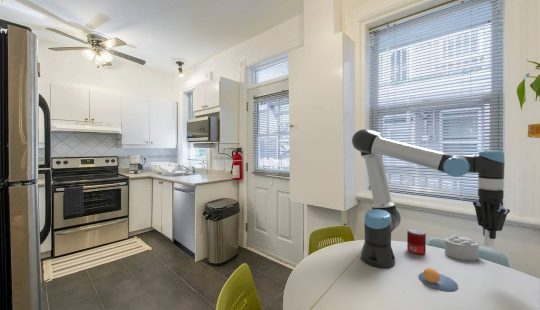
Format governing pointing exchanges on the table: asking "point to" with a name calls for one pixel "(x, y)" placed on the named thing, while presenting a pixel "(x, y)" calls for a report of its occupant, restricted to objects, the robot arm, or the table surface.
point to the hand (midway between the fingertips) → (489, 245)
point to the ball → (431, 275)
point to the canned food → (416, 241)
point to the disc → (441, 283)
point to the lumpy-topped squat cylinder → (461, 248)
